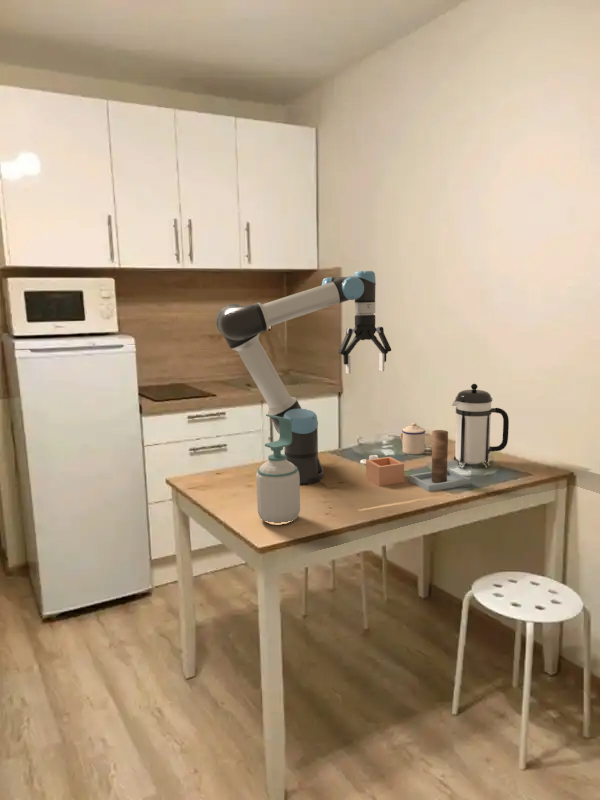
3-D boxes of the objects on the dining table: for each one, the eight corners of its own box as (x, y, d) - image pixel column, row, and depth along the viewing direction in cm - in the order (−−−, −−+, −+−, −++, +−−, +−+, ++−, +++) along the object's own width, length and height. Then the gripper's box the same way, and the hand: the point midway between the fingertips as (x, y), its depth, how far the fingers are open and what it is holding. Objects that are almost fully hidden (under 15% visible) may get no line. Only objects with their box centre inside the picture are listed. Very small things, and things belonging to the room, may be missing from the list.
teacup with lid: (430, 452, 241) (430, 423, 239) (412, 456, 236) (413, 427, 234) (409, 445, 251) (409, 418, 249) (392, 449, 246) (392, 421, 244)
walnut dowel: (437, 484, 200) (438, 434, 197) (428, 480, 205) (429, 431, 201) (449, 482, 202) (451, 432, 198) (441, 478, 206) (442, 429, 203)
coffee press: (477, 473, 214) (480, 389, 208) (442, 463, 226) (444, 383, 221) (508, 464, 224) (511, 383, 218) (472, 454, 236) (475, 378, 231)
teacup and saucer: (357, 465, 228) (357, 454, 227) (374, 461, 232) (374, 451, 231) (370, 471, 220) (370, 460, 220) (388, 467, 224) (388, 456, 223)
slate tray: (428, 493, 195) (428, 485, 194) (408, 482, 206) (408, 475, 206) (470, 486, 201) (470, 479, 200) (448, 475, 212) (449, 469, 211)
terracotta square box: (379, 487, 201) (379, 467, 200) (365, 479, 210) (365, 459, 208) (403, 483, 205) (404, 463, 203) (390, 475, 213) (390, 456, 212)
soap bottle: (249, 519, 177) (245, 414, 171) (282, 508, 185) (279, 407, 179) (275, 532, 168) (271, 421, 162) (309, 520, 175) (307, 414, 169)
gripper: (337, 316, 215) (337, 375, 219) (400, 313, 222) (400, 371, 226) (329, 315, 222) (330, 372, 226) (391, 312, 229) (390, 368, 233)
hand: (365, 372), depth 226 cm, fingers open, 13 cm apart
